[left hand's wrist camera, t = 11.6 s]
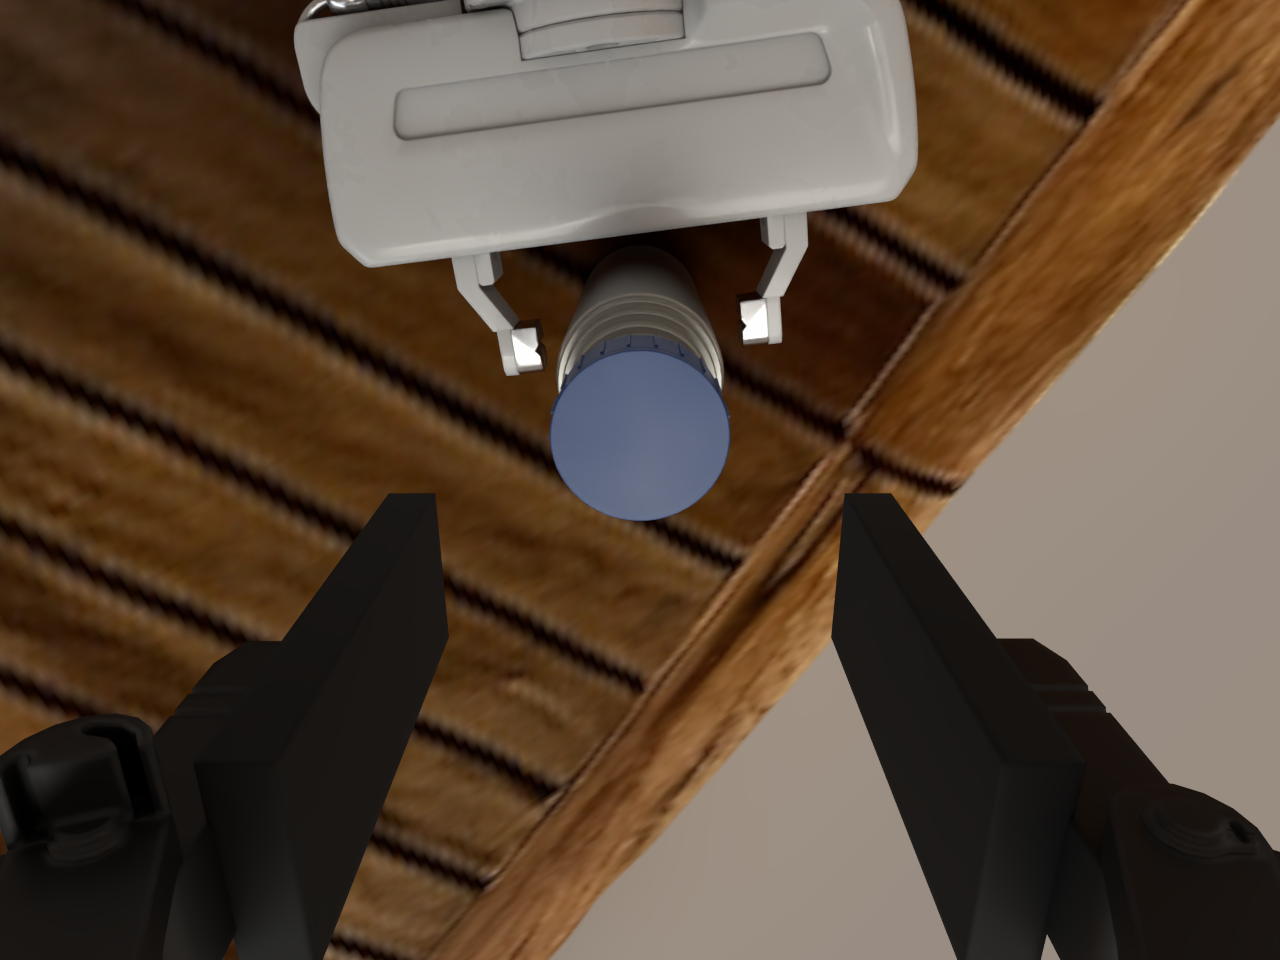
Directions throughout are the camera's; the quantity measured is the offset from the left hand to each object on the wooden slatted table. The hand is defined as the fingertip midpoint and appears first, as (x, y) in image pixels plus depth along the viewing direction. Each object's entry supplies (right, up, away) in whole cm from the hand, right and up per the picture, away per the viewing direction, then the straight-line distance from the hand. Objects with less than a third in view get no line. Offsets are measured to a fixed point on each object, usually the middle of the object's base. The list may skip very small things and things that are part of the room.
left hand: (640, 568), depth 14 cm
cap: (0, +3, +7) cm, 7 cm away
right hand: (0, +6, +18) cm, 19 cm away
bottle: (0, +9, +24) cm, 26 cm away
